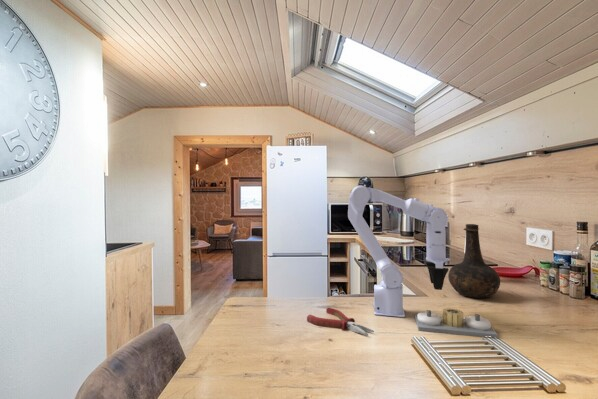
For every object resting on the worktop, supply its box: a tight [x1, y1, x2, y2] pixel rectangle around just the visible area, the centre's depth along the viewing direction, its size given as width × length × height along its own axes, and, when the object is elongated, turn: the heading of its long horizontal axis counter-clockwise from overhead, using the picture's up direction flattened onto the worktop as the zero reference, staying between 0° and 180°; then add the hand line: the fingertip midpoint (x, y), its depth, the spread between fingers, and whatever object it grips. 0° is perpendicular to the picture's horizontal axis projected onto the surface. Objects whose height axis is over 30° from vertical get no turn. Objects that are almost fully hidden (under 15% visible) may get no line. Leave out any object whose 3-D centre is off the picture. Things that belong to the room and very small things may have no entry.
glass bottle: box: [447, 223, 501, 299], centre depth 120 cm, size 18×18×28 cm
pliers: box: [306, 307, 375, 336], centre depth 91 cm, size 12×20×3 cm, turn 44°
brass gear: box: [441, 307, 465, 327], centre depth 89 cm, size 5×5×4 cm
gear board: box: [414, 309, 499, 339], centre depth 89 cm, size 20×10×4 cm, turn 75°
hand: (436, 286), depth 98 cm, fingers open, 7 cm apart
